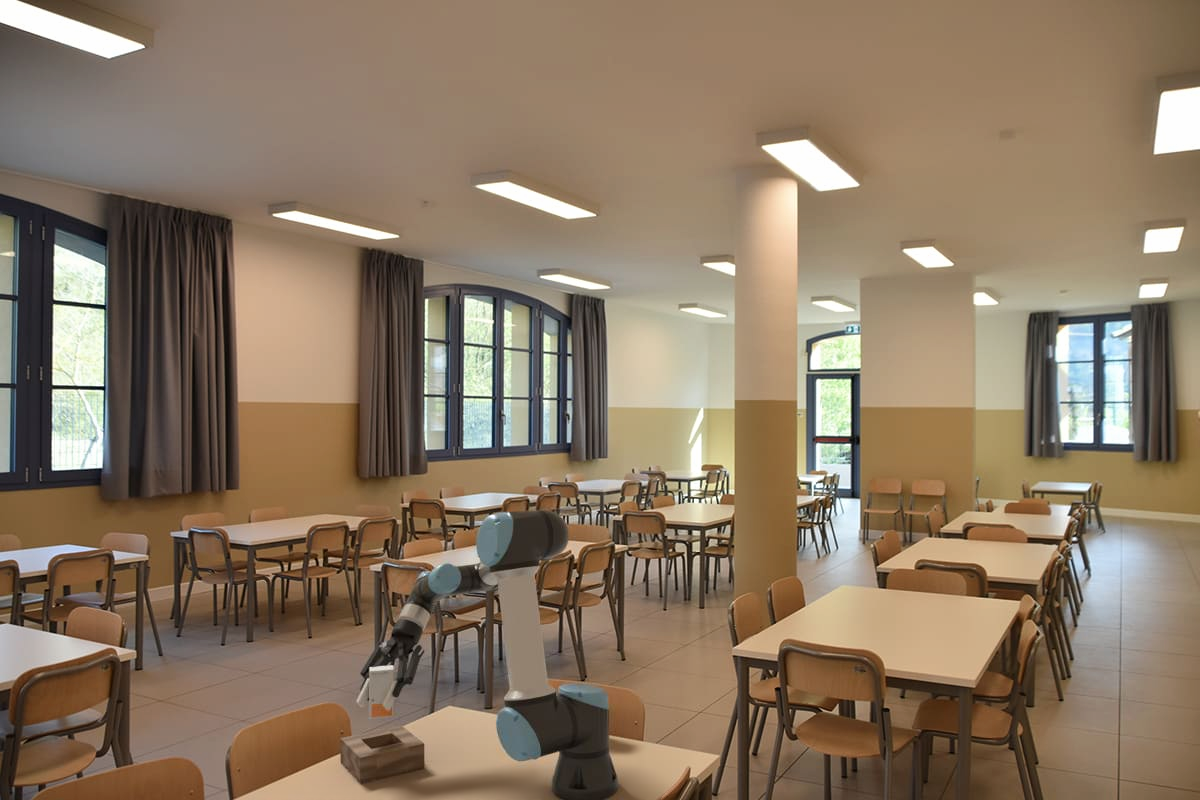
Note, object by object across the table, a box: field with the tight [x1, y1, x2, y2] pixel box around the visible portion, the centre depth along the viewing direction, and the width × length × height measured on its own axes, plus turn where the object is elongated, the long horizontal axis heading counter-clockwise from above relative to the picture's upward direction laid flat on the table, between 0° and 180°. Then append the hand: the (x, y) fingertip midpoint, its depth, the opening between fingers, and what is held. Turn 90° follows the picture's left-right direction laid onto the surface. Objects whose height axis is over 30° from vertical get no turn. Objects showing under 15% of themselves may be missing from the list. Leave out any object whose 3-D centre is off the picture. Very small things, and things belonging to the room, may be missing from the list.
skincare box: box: [368, 665, 395, 720], centre depth 213 cm, size 6×4×12 cm
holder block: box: [339, 725, 425, 784], centre depth 212 cm, size 16×16×6 cm
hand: (372, 706), depth 210 cm, fingers closed on skincare box, 7 cm apart
